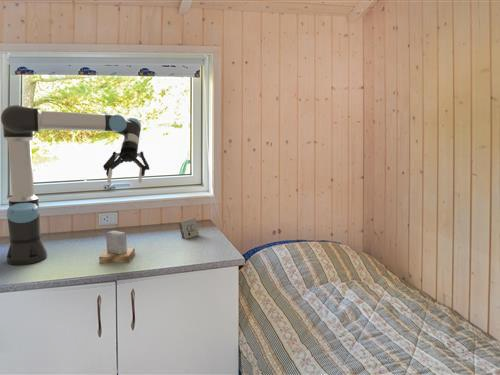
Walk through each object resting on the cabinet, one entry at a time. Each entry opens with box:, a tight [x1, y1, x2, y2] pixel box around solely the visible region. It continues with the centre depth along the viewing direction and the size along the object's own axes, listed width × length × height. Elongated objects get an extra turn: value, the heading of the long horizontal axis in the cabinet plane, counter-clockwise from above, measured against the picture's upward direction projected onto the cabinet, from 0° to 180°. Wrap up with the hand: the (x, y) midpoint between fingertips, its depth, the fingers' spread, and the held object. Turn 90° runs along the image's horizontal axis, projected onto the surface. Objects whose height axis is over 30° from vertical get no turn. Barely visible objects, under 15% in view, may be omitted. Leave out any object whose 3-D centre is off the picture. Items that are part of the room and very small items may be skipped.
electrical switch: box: [178, 217, 200, 240], centre depth 211 cm, size 9×5×9 cm, turn 141°
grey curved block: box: [105, 230, 128, 255], centre depth 178 cm, size 8×4×9 cm, turn 57°
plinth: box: [98, 247, 136, 264], centre depth 178 cm, size 12×12×2 cm
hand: (124, 181), depth 184 cm, fingers open, 13 cm apart
